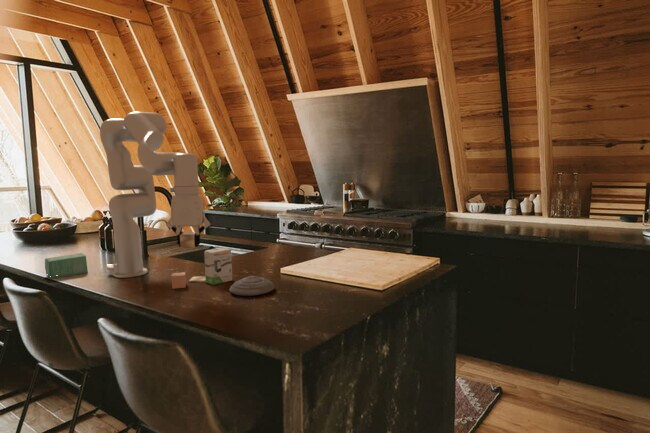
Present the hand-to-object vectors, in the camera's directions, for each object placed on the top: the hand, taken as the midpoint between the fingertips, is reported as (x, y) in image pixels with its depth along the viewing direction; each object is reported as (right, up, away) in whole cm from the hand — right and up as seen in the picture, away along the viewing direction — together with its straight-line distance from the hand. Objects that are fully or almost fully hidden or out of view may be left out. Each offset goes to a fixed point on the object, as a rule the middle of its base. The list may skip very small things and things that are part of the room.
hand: (189, 245), depth 155 cm
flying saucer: (+21, -16, +1) cm, 26 cm away
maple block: (0, 0, 0) cm, 0 cm away
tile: (-1, -14, +17) cm, 22 cm away
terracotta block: (-6, -15, +9) cm, 19 cm away
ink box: (+7, -14, +15) cm, 21 cm away
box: (-58, -14, +31) cm, 67 cm away
